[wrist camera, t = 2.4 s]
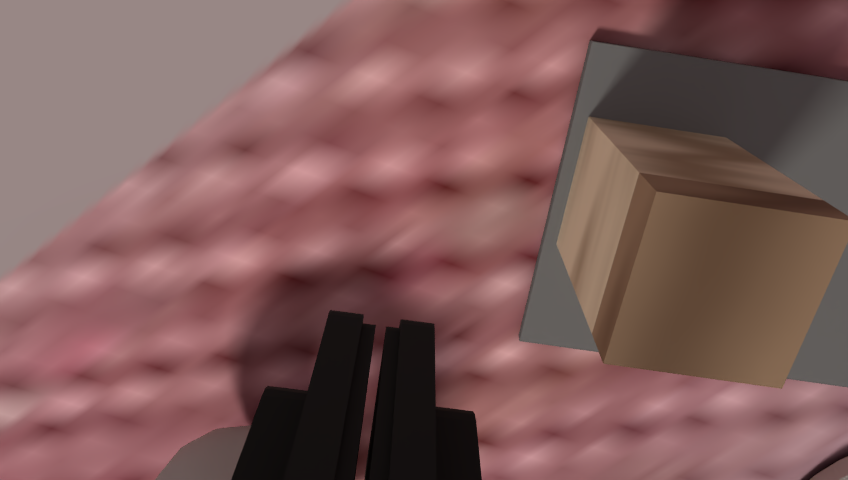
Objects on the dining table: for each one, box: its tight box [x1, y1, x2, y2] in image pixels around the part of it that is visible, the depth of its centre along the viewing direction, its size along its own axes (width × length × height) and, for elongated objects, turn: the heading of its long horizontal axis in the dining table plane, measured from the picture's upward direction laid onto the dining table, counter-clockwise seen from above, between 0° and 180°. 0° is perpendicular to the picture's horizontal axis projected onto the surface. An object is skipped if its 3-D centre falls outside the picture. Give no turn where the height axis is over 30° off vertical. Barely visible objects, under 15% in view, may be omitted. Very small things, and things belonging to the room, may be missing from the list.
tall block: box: [557, 117, 848, 389], centre depth 20 cm, size 5×5×8 cm
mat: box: [519, 40, 848, 387], centre depth 25 cm, size 14×12×1 cm
